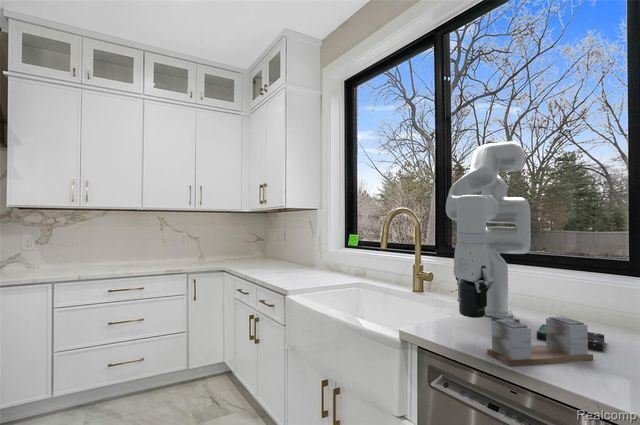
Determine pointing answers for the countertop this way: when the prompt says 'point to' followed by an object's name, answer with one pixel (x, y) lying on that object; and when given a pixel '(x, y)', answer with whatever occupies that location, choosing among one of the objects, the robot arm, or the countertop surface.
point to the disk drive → (593, 339)
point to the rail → (561, 345)
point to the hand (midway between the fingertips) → (472, 302)
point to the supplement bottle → (469, 300)
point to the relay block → (500, 317)
